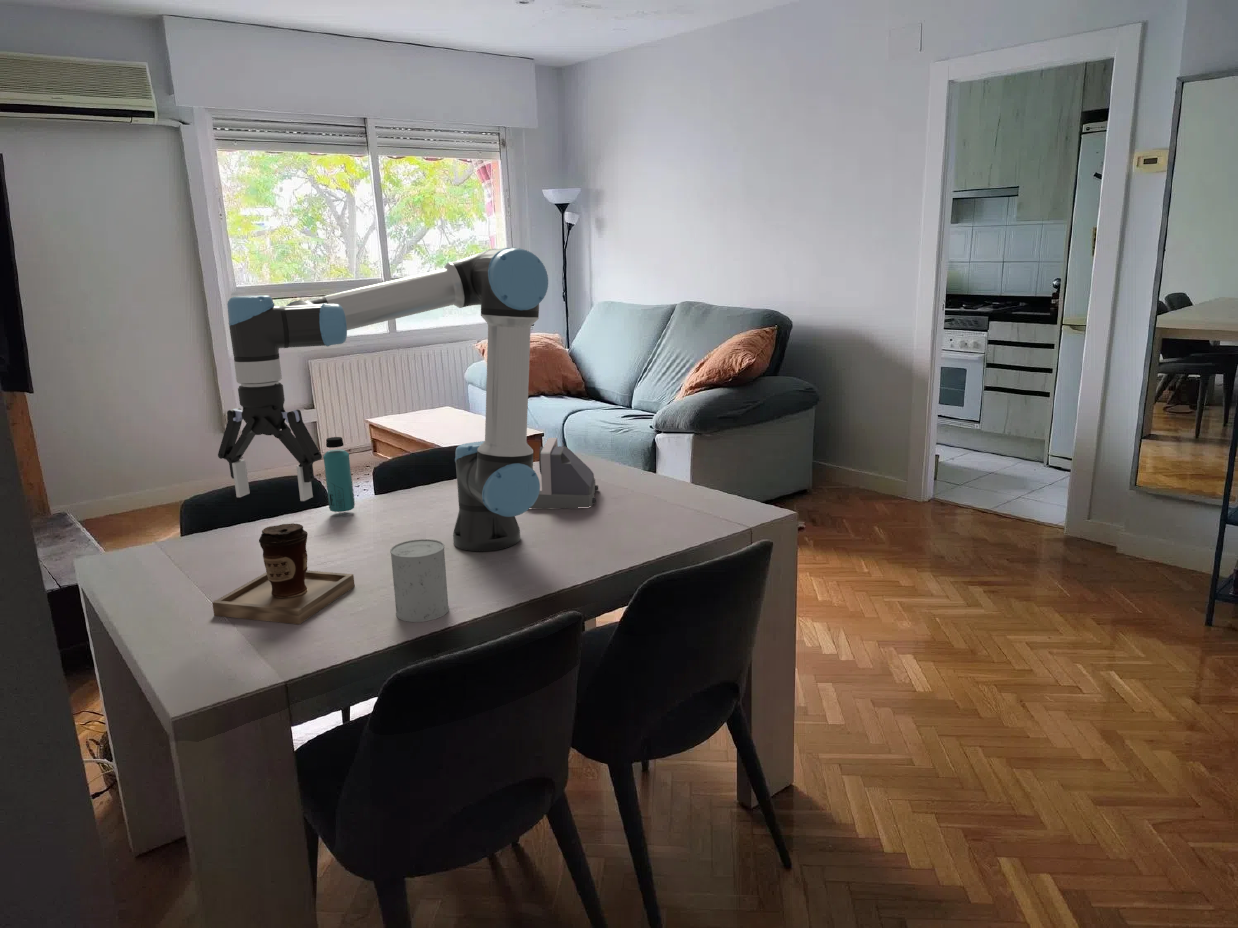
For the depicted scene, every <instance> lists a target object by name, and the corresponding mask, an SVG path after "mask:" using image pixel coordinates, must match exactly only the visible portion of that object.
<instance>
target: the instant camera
mask: <svg viewBox="0 0 1238 928" xmlns="http://www.w3.org/2000/svg"><path fill="white" fill-rule="evenodd" d="M538 453H539V454H538V457H539V458H538V461H539V462H538V463H539V464H538V465H539V472H536V474H537V476H538V478H539V482H540V491H539V495H538V498H537V500H536V502H535V503H534V505H533V506H531V507H530V508H578V507H589V506H592V507H593V505H592V504H596V503H597V498H596V497H595V495H594V493H595V494H596V491H599V485H598V484H597V485H596V478H595V474H594V472H593V470H592V469H591V468H590V467H589V466H588V465H587V464H586V463H585V462H584V461H582V460H581V459H580V458H579V457H578V456H577V455H576V454H575V453H574V452H573V451H572V450H571V449H570V448H568V447H567V446H559V444H558V437H547V439H546V442H545V443H544V446H540V447H539V452H538Z"/></svg>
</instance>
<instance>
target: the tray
mask: <svg viewBox="0 0 1238 928" xmlns="http://www.w3.org/2000/svg"><path fill="white" fill-rule="evenodd" d="M354 575H355V574H353V573H342V572H333V571H331V572H330V571H319V570H308V569H307V571H306V573H305V580H304V582H305V585H306V587H307V589H308V590H307V591H306V593H304V594H302V595H299V596H295V597H288V598H278V597H274V596H272V585H271V582H270V581H269V580H268V577H267V572H264V573H263V574H261V575H259V576H258V577H255V578H254V579H251V580H250V581H248V582H246V583H244V584H243V585H241V586H239V587H238V588H236V589H234V590H232V591H230V592H228V593H226V594H225V595H223V596H221V597H220V598H218V599H215V600H213V601H212V610H213V615H214V616H216V617H223V618H224V617H225V618H234V619H241V620H242V619H243V620H252V621H253V620H255V621H262V622H270V623H271V622H273V623H282V624H293V625H301V624H302V623H304V622H305V621H307V620H308V619H310V618H311V617H313V616H314V615H316V614H317V613H318V612H319V611H321V610H323V609H324V608H326V607H327V606H329V605H330V604H332V603H333V602H335V601H336V600H337V599H339V598H340V597H341V596H343V595H345V594H346V593H347V592H349V591H350V590H352V589H354V588H355V587H356V585H355V576H354Z"/></svg>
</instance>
